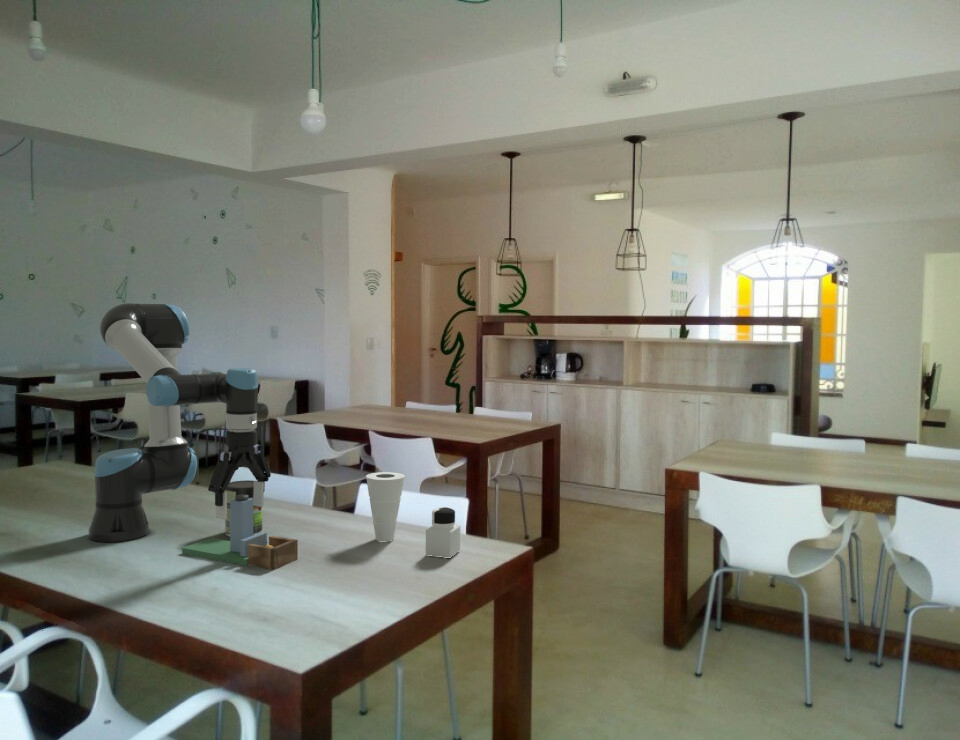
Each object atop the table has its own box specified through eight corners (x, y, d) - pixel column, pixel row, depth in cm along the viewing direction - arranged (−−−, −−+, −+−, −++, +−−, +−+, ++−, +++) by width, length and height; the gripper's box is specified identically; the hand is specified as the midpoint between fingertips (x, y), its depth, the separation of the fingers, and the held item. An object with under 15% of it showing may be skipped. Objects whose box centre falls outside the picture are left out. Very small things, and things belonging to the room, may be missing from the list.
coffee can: (269, 529, 213) (269, 481, 212) (251, 539, 203) (251, 488, 202) (236, 526, 215) (236, 479, 214) (217, 536, 205) (217, 486, 204)
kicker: (224, 553, 185) (224, 498, 184) (246, 544, 192) (246, 491, 191) (245, 556, 182) (245, 501, 181) (266, 548, 189) (266, 494, 189)
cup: (410, 537, 207) (411, 474, 206) (390, 547, 197) (391, 481, 196) (378, 532, 212) (379, 470, 210) (357, 542, 202) (358, 477, 201)
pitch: (182, 553, 189) (182, 547, 189) (210, 543, 198) (210, 537, 198) (246, 565, 181) (246, 559, 181) (273, 554, 190) (273, 548, 190)
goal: (248, 564, 181) (248, 545, 181) (272, 554, 189) (272, 535, 189) (274, 569, 178) (274, 549, 178) (297, 559, 186) (297, 539, 186)
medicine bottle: (460, 551, 195) (461, 507, 194) (450, 559, 188) (451, 513, 188) (435, 548, 198) (436, 504, 197) (425, 556, 191) (425, 510, 190)
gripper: (217, 437, 173) (216, 526, 174) (285, 424, 196) (283, 503, 197) (193, 434, 176) (192, 521, 177) (262, 422, 199) (261, 499, 200)
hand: (240, 512), depth 187 cm, fingers open, 13 cm apart
